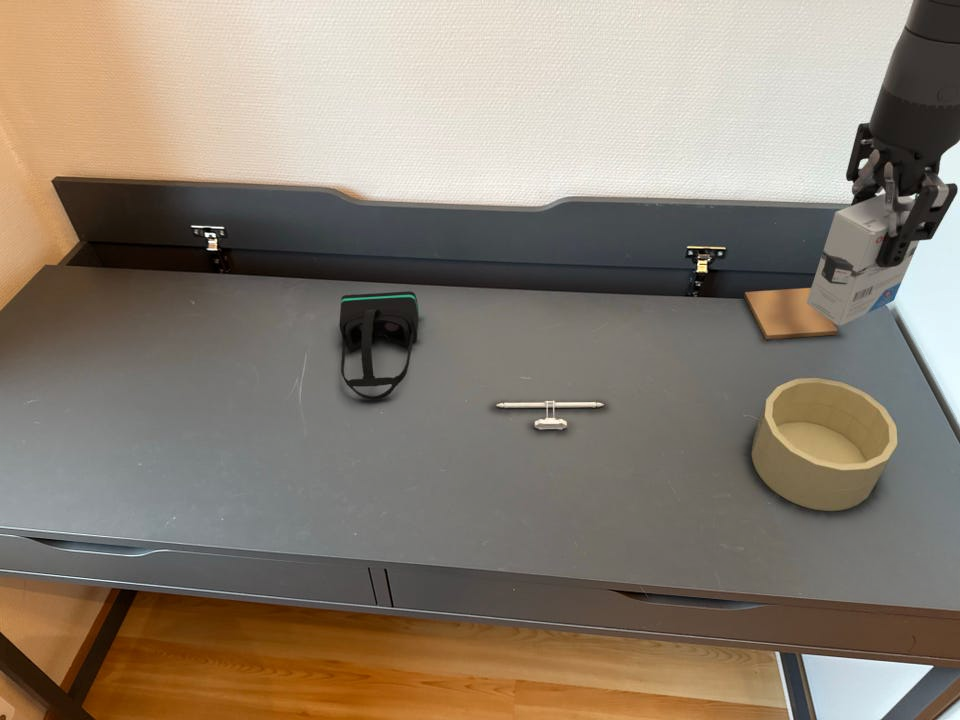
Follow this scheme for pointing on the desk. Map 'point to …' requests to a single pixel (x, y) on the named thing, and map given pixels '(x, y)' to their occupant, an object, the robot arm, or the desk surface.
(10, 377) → the desk surface
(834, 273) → the ink box
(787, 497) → the pot
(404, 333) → the virtual reality headset
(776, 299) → the plate
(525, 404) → the picture light
